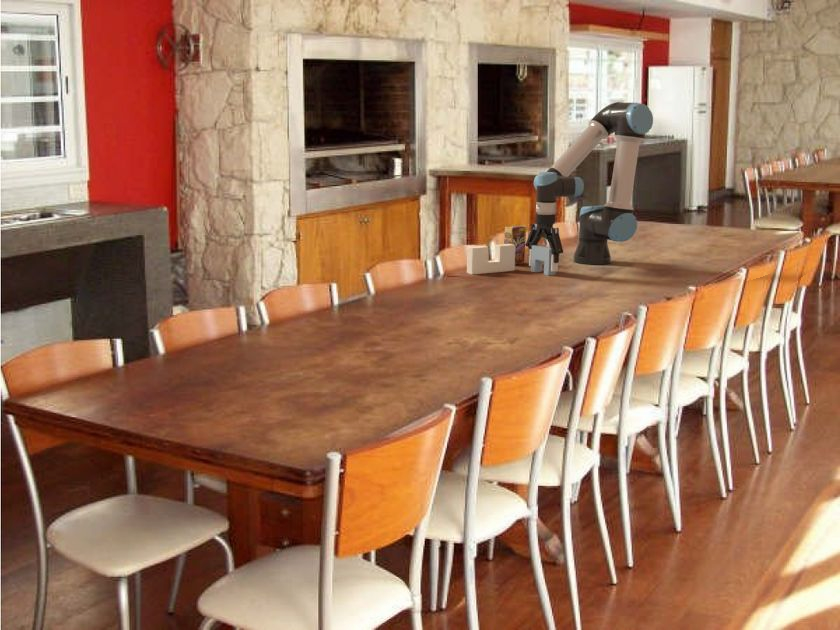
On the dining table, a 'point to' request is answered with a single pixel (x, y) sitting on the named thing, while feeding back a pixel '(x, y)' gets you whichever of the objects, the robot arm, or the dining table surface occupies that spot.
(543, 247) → the light blue arch block
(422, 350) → the dining table surface
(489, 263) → the slotted stand
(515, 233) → the candy box
